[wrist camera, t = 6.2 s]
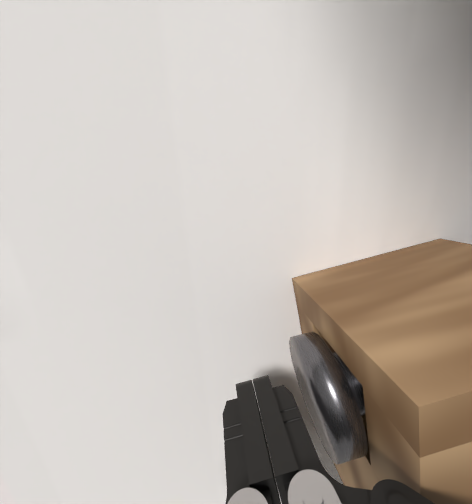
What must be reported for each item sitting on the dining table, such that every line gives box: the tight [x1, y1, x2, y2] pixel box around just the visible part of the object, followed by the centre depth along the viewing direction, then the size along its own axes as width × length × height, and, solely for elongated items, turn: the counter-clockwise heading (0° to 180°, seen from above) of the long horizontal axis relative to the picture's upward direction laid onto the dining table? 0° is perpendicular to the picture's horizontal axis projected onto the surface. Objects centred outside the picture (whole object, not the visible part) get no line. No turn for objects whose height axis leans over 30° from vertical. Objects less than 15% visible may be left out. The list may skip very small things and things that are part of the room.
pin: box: [289, 332, 368, 465], centre depth 10 cm, size 13×5×5 cm, turn 103°
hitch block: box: [292, 239, 472, 504], centre depth 10 cm, size 12×9×9 cm
